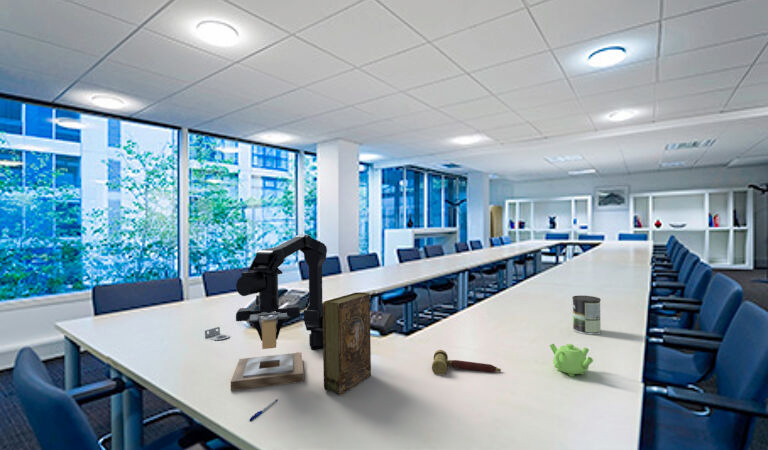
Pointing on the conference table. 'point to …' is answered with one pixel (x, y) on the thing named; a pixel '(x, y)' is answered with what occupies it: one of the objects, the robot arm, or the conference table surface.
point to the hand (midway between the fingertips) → (269, 339)
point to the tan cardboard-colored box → (269, 333)
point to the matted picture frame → (268, 371)
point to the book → (346, 342)
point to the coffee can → (586, 315)
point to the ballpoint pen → (261, 411)
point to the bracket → (214, 332)
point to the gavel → (458, 364)
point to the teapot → (571, 359)
